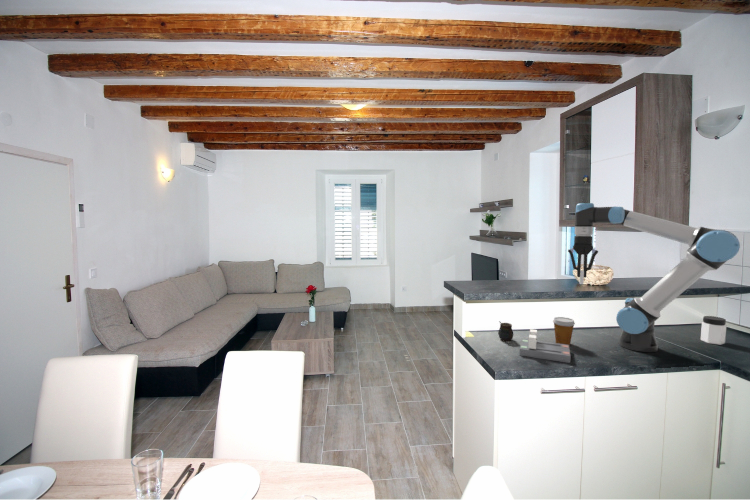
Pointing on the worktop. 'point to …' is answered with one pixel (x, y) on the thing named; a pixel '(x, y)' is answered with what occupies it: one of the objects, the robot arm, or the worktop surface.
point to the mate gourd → (505, 331)
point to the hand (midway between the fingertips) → (581, 283)
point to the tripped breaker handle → (532, 342)
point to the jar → (713, 330)
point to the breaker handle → (533, 333)
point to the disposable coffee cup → (563, 330)
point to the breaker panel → (546, 351)
